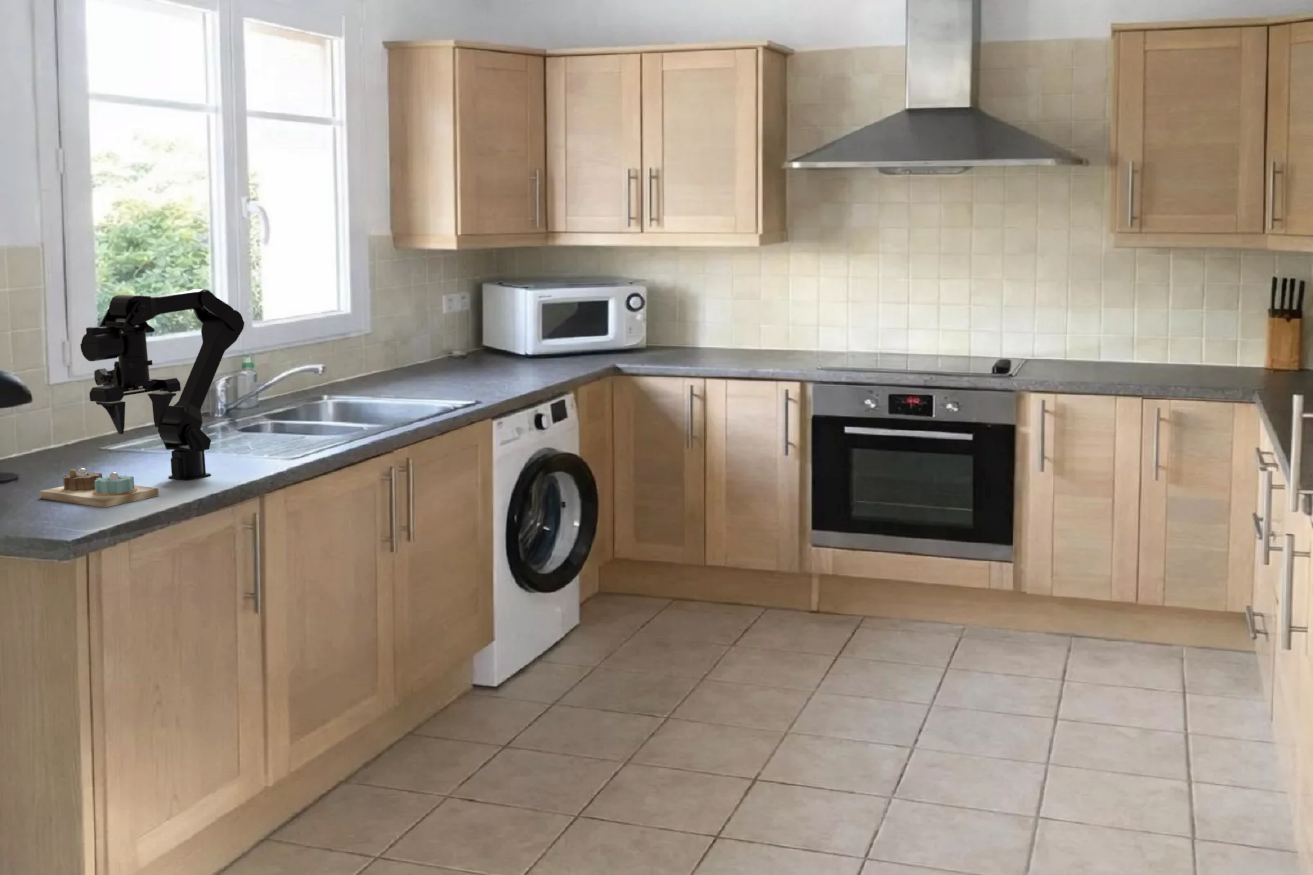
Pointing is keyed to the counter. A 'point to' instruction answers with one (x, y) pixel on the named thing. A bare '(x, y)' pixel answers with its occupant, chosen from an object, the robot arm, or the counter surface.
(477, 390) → the counter surface
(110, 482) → the loose gear
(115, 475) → the steel pegs
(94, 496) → the gear board
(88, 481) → the gear
